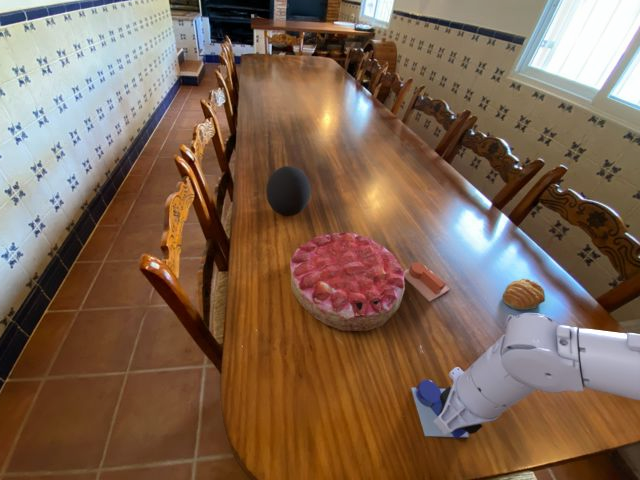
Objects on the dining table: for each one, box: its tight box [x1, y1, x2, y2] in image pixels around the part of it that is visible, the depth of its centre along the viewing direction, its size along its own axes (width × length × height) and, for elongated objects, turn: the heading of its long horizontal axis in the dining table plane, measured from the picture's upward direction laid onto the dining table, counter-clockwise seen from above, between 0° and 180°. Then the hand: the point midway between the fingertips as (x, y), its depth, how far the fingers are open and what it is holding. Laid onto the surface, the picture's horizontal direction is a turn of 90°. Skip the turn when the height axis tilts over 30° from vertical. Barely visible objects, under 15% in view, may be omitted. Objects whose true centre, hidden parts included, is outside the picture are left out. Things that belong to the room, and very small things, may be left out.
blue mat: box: [410, 387, 470, 439], centre depth 49 cm, size 7×7×1 cm
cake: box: [289, 231, 406, 332], centre depth 66 cm, size 25×25×8 cm
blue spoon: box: [415, 379, 468, 440], centre depth 49 cm, size 8×4×3 cm, turn 30°
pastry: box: [502, 278, 546, 311], centre depth 68 cm, size 9×7×4 cm
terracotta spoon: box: [408, 261, 447, 295], centre depth 70 cm, size 8×4×3 cm, turn 30°
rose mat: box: [404, 267, 450, 303], centre depth 71 cm, size 9×7×1 cm
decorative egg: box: [265, 165, 312, 217], centre depth 83 cm, size 12×12×15 cm
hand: (450, 416), depth 47 cm, fingers closed on blue spoon, 2 cm apart
